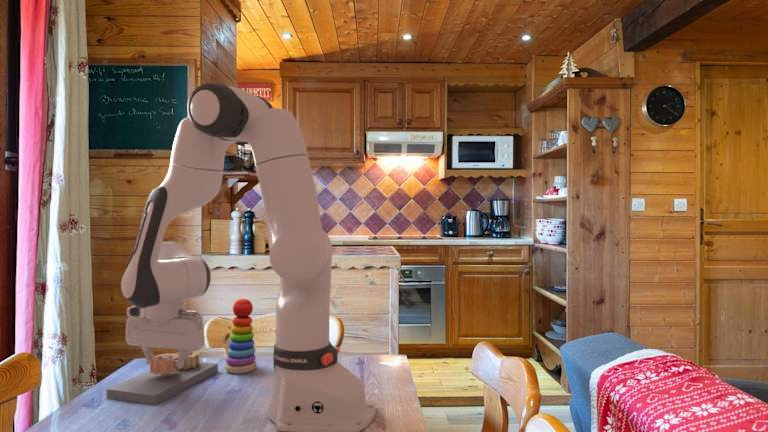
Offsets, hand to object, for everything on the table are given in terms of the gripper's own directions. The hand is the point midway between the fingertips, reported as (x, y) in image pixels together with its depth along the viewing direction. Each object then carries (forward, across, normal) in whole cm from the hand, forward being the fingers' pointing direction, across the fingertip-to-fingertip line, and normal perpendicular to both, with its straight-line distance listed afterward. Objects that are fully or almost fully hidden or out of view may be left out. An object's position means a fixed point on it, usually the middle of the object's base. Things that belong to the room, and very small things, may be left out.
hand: (164, 365), depth 111 cm
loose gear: (+1, 0, 0) cm, 1 cm away
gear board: (+4, 0, 0) cm, 5 cm away
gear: (+2, 0, -8) cm, 8 cm away
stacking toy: (+5, -12, -14) cm, 19 cm away
